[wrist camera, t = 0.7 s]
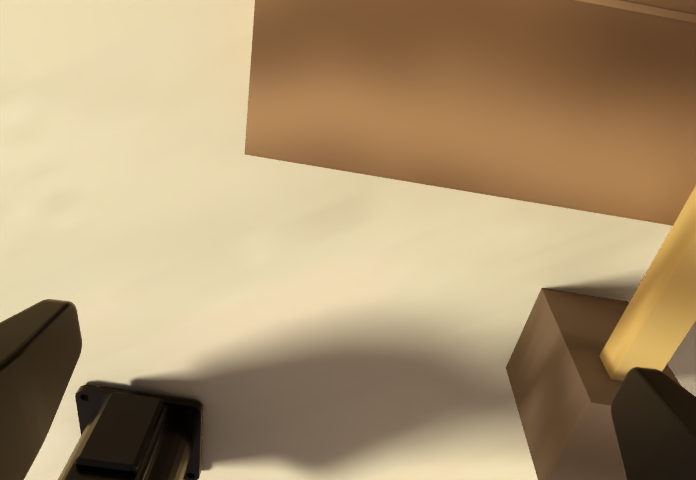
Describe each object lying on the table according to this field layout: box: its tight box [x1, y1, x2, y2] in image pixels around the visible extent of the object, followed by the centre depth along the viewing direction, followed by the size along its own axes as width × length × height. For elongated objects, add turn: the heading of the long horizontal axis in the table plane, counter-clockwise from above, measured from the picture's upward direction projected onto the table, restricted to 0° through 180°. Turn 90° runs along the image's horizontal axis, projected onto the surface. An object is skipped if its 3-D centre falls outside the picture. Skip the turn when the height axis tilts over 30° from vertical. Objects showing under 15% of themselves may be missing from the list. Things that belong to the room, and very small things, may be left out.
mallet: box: [506, 186, 696, 480], centre depth 21 cm, size 13×4×6 cm, turn 171°
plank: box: [245, 0, 696, 225], centre depth 17 cm, size 10×25×3 cm, turn 81°
